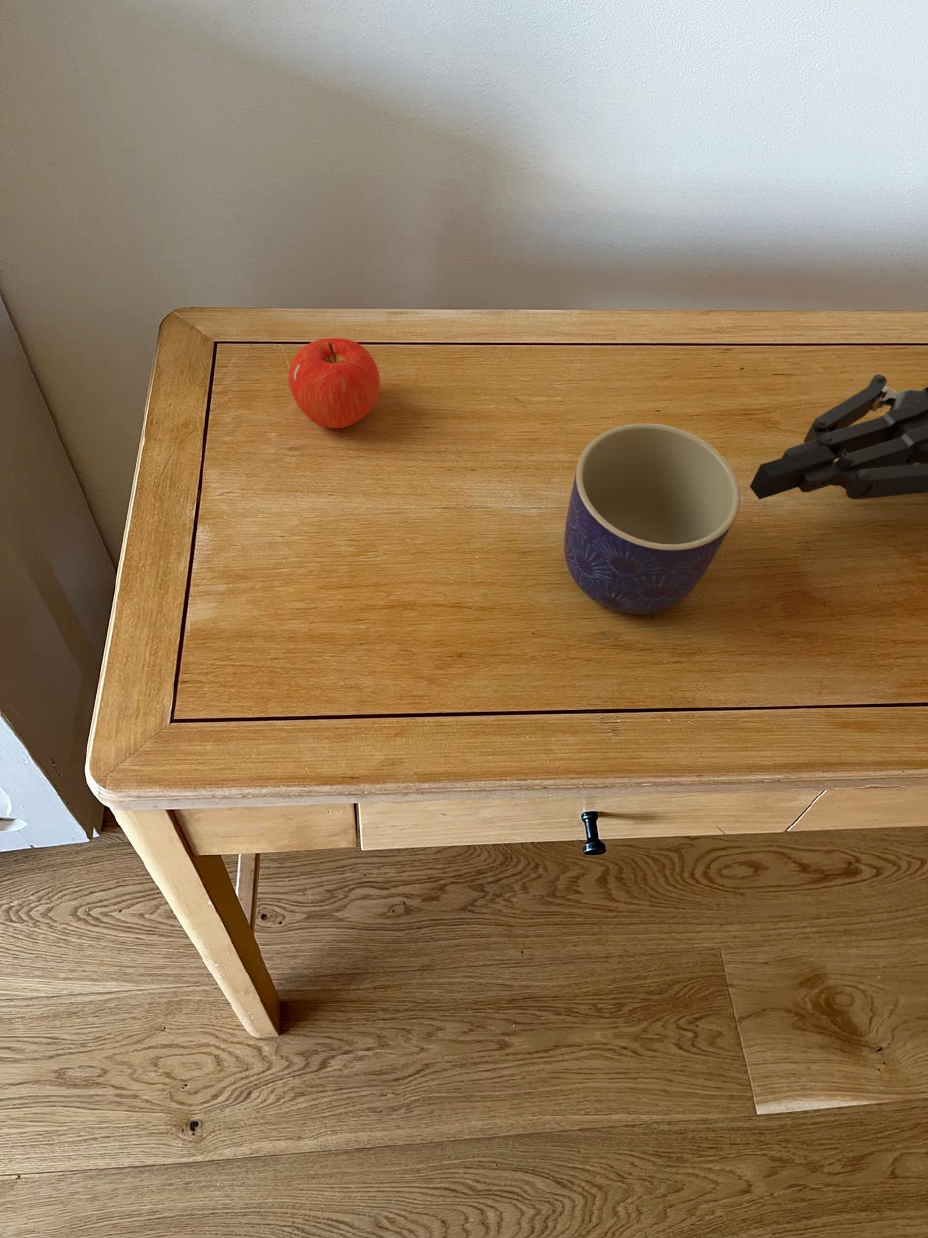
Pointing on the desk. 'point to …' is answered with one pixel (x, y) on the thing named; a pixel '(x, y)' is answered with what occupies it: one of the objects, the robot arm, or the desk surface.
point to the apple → (334, 381)
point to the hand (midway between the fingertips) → (760, 482)
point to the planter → (647, 516)
